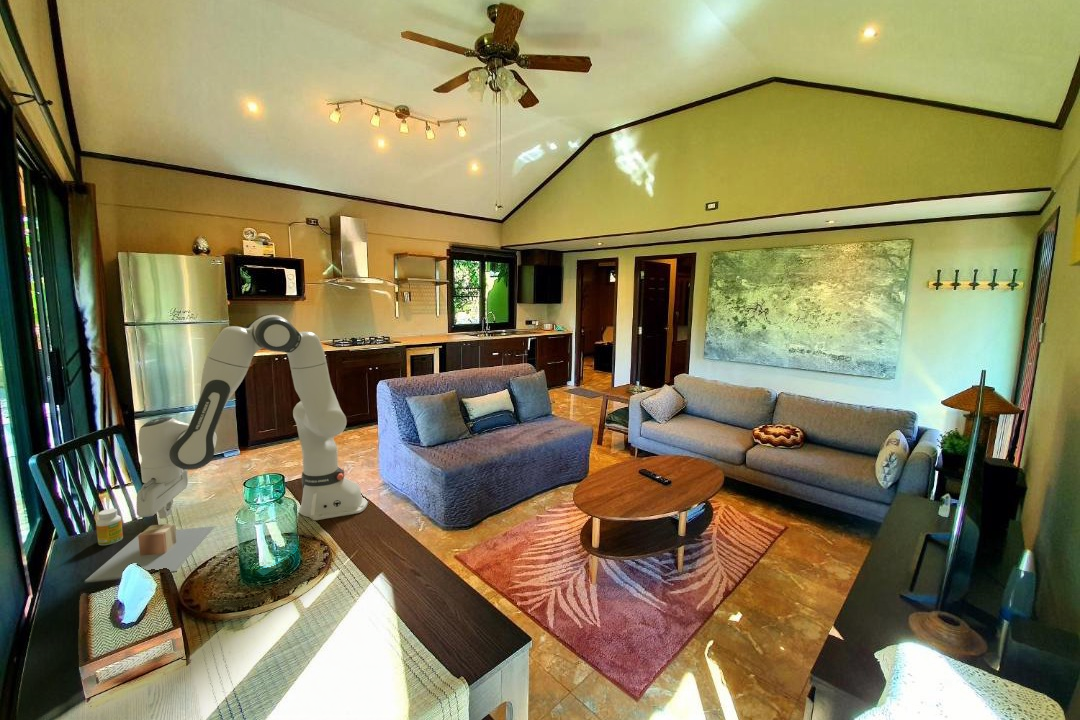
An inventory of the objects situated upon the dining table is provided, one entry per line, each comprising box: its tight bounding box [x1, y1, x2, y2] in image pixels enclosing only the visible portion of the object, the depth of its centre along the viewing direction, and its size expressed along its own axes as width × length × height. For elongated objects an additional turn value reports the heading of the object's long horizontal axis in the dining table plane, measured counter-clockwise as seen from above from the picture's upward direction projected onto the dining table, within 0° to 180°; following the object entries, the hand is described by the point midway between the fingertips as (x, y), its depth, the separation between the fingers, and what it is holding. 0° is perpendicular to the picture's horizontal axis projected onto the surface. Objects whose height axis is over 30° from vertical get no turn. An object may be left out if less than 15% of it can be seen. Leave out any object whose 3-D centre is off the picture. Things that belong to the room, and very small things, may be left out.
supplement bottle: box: [95, 508, 124, 546], centre depth 131 cm, size 5×5×10 cm
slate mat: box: [84, 526, 216, 583], centre depth 127 cm, size 20×24×1 cm
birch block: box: [137, 523, 176, 555], centre depth 128 cm, size 6×6×6 cm
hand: (165, 516), depth 131 cm, fingers closed
